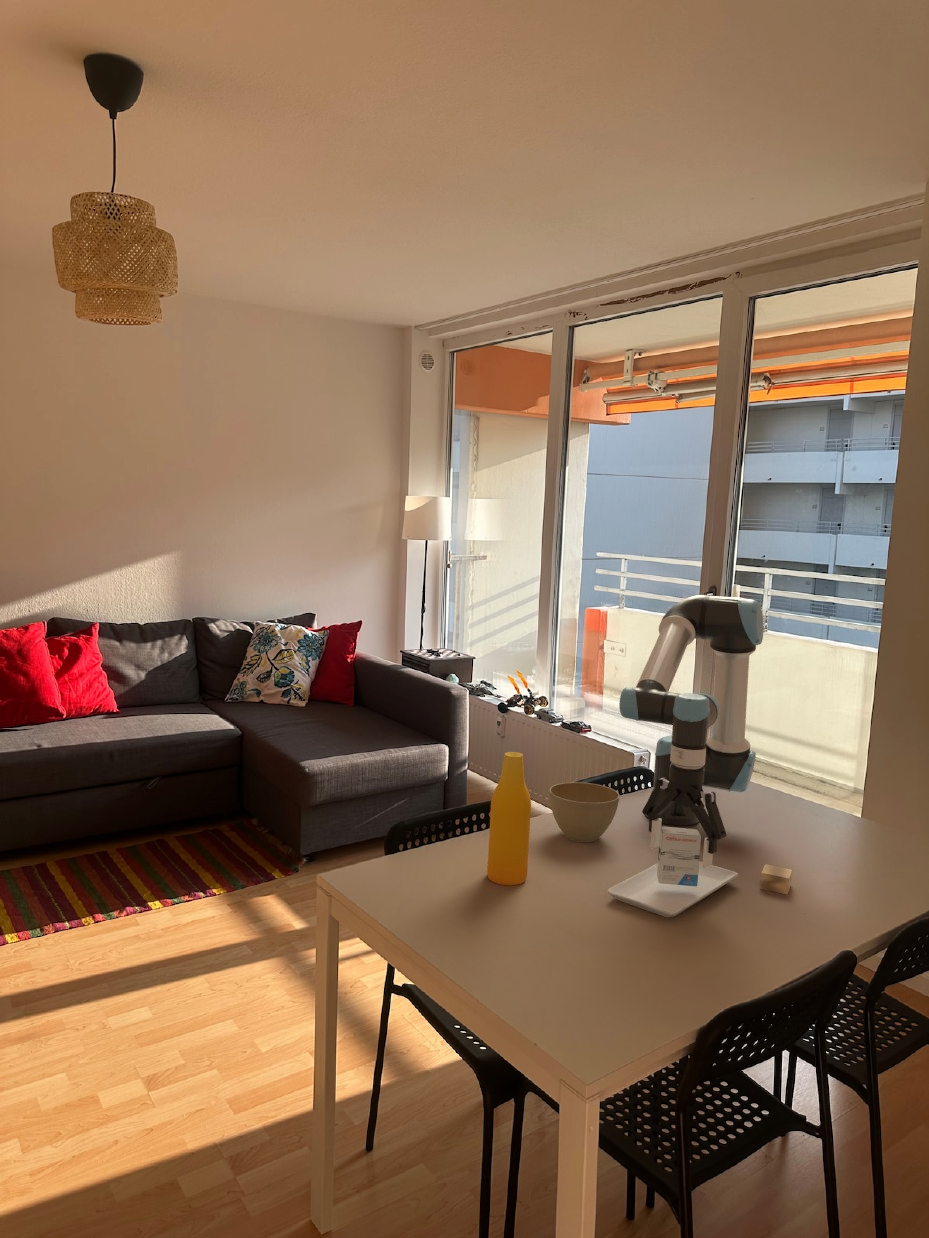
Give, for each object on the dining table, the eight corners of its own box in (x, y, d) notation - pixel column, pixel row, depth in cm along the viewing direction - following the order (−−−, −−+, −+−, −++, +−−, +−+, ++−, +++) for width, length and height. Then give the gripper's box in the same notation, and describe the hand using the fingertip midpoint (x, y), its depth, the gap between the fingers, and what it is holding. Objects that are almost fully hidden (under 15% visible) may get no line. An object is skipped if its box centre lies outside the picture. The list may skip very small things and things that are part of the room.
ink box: (694, 878, 201) (698, 828, 200) (697, 887, 196) (701, 835, 195) (656, 875, 202) (659, 825, 201) (658, 883, 197) (662, 832, 196)
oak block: (760, 889, 204) (761, 872, 204) (763, 880, 210) (765, 864, 209) (787, 895, 202) (789, 878, 201) (790, 886, 207) (792, 869, 207)
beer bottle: (535, 878, 204) (542, 755, 200) (509, 889, 197) (516, 762, 194) (504, 866, 210) (511, 746, 207) (478, 876, 203) (484, 753, 200)
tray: (603, 903, 194) (604, 888, 193) (673, 865, 217) (674, 852, 217) (673, 930, 183) (674, 914, 182) (739, 887, 206) (740, 872, 206)
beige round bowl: (626, 835, 235) (630, 790, 234) (599, 855, 220) (602, 807, 219) (565, 820, 245) (568, 777, 243) (534, 838, 229) (537, 792, 228)
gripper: (630, 753, 203) (625, 843, 205) (728, 781, 185) (721, 879, 187) (650, 748, 208) (644, 835, 210) (747, 775, 190) (739, 870, 192)
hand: (680, 856), depth 199 cm, fingers open, 13 cm apart
